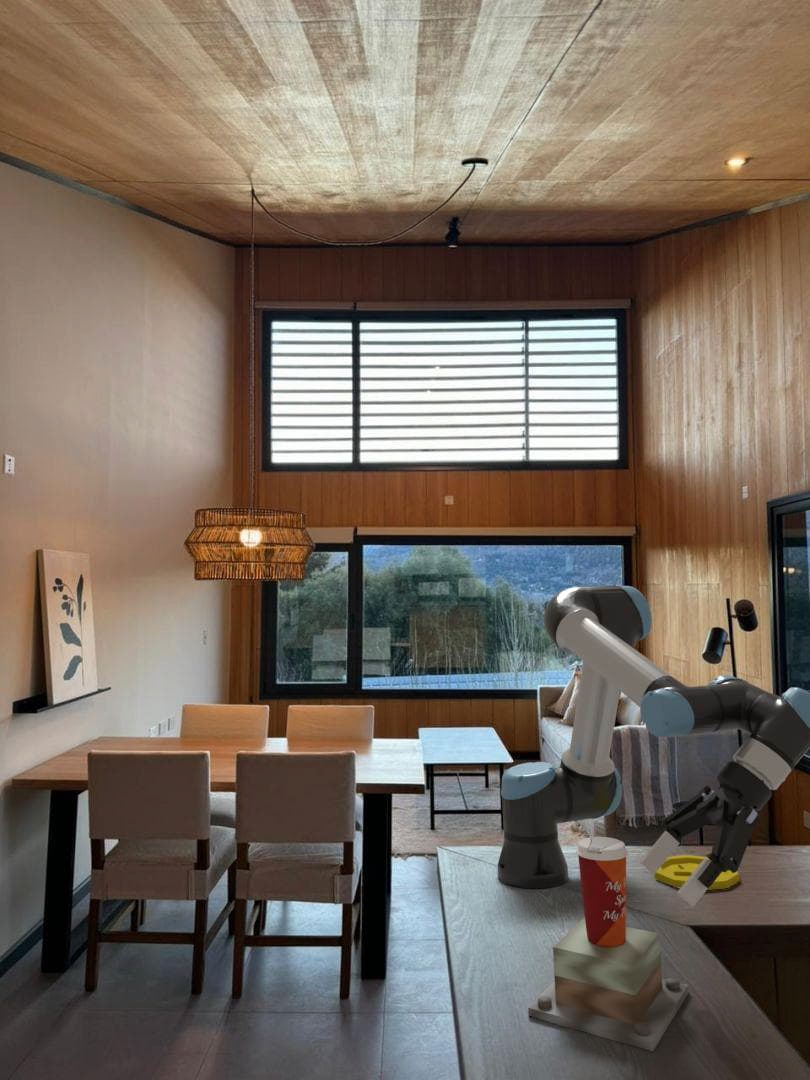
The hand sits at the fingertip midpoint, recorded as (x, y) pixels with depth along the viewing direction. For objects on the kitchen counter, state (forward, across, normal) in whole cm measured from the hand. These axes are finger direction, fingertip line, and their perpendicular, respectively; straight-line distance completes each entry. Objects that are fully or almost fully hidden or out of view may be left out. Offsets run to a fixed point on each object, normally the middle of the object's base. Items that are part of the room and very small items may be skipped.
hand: (664, 883), depth 120 cm
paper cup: (+12, 0, +1) cm, 12 cm away
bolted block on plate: (+18, 0, -5) cm, 19 cm away
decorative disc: (-6, +48, -31) cm, 58 cm away
